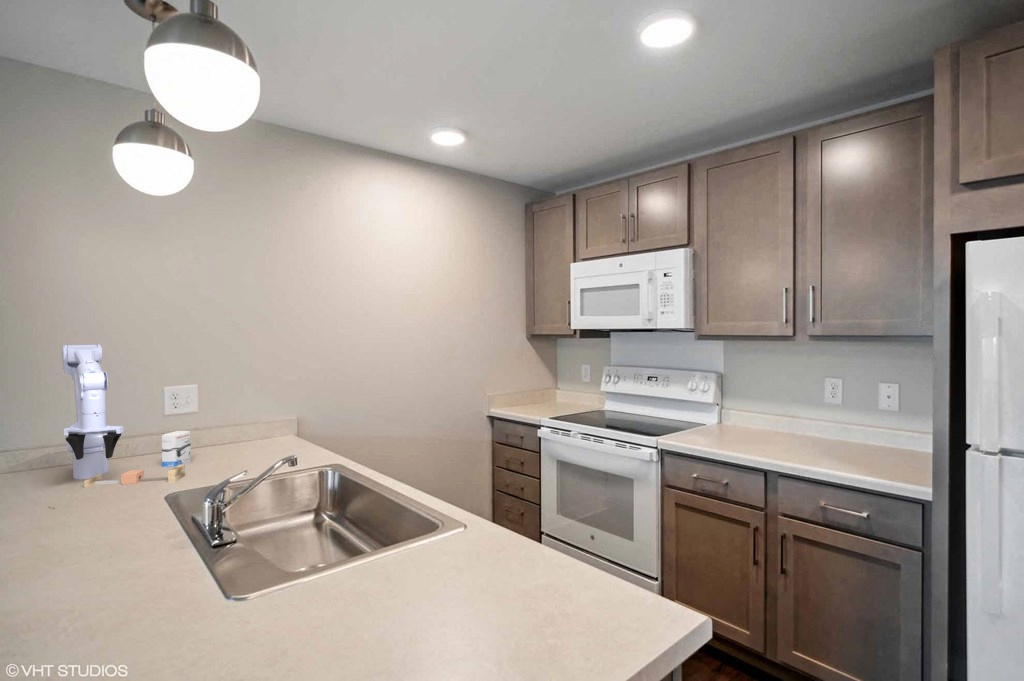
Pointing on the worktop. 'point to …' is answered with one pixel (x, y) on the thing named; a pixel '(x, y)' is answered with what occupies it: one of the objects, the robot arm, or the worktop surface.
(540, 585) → the worktop surface
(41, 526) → the worktop surface
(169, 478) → the rail board
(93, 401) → the robot arm
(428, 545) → the worktop surface
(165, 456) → the ink box
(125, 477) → the block
